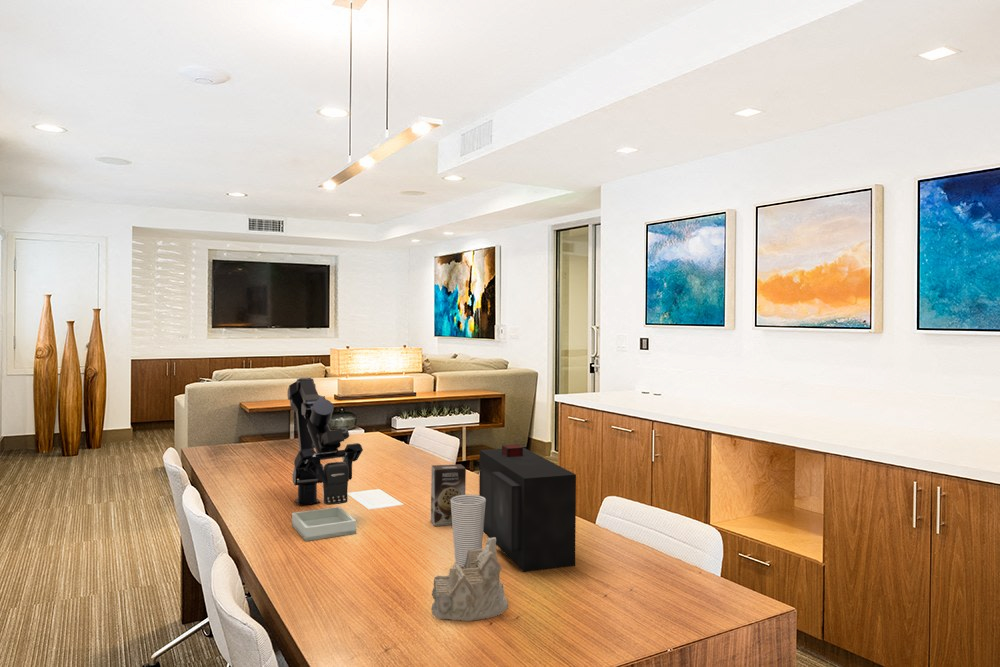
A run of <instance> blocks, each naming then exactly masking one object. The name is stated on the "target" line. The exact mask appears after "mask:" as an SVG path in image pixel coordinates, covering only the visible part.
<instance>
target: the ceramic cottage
mask: <svg viewBox="0 0 1000 667" xmlns="http://www.w3.org/2000/svg"><path fill="white" fill-rule="evenodd" d="M497 556H498V555H497V545H496V537H493V538H489V537H488V538H486V540H485V546H484V547H483V548H482V549H477V550H468V552H467V558H466V561H465V564H464V567H460V566H459V564H458V563H457V562H456V563H455V562H454V565H453V566H452V567H450V568H449V573H448V574H447V575H435V577H434V579H433V588H432V590H431V596H432V599H433V600H434V602H433V603H432V604H431V612H432V615H434V616H435V617H434V616H433V617H434V618H436V619H438V618H441V619H440V620H448V619H452V620H451V621H460V620H461V622H462V621H463V622H471V621H472V622H473V621H479V620H485V618H486V619H491V618H494V617H498V616H501V615H502V614H504V612H503V611H505V610H506V611H507V609H508V607H509V602H508V601H509V600H507V598H506V594H505V589H504V583H502V582H501V580H500V573H501V570H502V565H501V564H500V563H499V561H498V558H497ZM462 568H463V569H462ZM432 610H433V611H432ZM506 611H505V612H506ZM501 613H502V614H501ZM500 614H501V615H500ZM497 615H498V616H497ZM490 617H491V618H490Z"/></svg>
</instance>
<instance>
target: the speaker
mask: <svg viewBox="0 0 1000 667" xmlns="http://www.w3.org/2000/svg"><path fill="white" fill-rule="evenodd" d="M478 468H479V470H478V471H479V476H478V477H479V480H478V481H479V484H478V486H479V487H478V488H479V490H478V492H479V496H482V497H484V498H485V499H486V506H485V517H484V528H483V534H484V535H486V536H487V537H488V538H493V537H496V547H497V548H499V549H500V550H501V551H502V552H503V553H504V555H506V556H507V557H508V558H509V560H511V561H512V562H513V563H514V564H515V565H516V566H517V567H518V568H519V569H520V570H521V571H522V572H523V573H529V572H537V571H538V572H539V571H545V570H553V569H562V568H571V567H575V566H576V528H577V527H576V524H577V523H576V522H577V520H576V517H577V510H576V509H577V506H576V505H577V502H576V501H577V474H576V473H574V472H572V471H570V470H568V469H566V468H564V467H562V466H560V465H558V464H556V463H554V462H552V461H551V460H548V459H547V458H545V457H543V456H541V455H539V454H537V453H535V452H533V451H531V450H529V449H527V448H525V447H522V446H520V445H518V444H511V445H501V448H494V449H493V448H492V449H479V467H478Z"/></svg>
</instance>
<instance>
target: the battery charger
mask: <svg viewBox="0 0 1000 667" xmlns="http://www.w3.org/2000/svg"><path fill="white" fill-rule="evenodd" d="M323 471H324V474H325V476H326V480H327V483H326V484H324V483H323V482H322V493H323V494H322V504H324V505H326V506H332V505H341V504H345V503H348V500H349V498H348V485H349V481H350V480H349V467H348V465H347V464H346V463H345V462H343V461H333V462H326V463H325V464H324V465H323Z"/></svg>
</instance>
